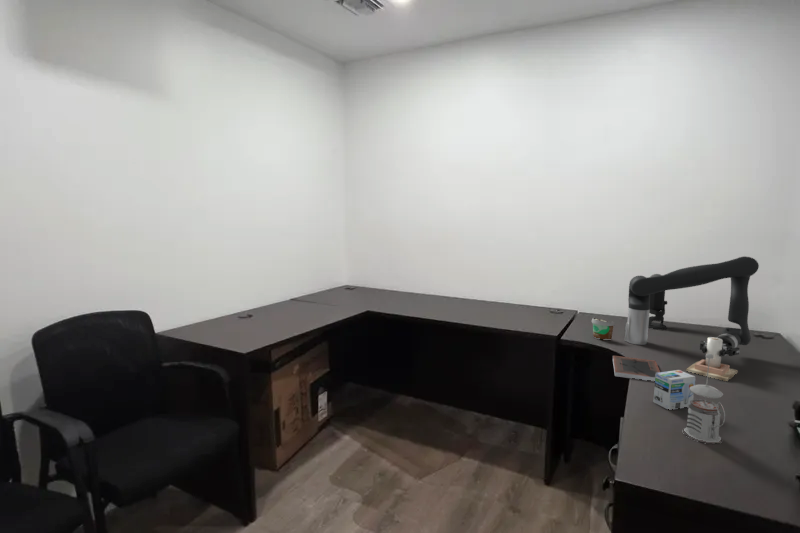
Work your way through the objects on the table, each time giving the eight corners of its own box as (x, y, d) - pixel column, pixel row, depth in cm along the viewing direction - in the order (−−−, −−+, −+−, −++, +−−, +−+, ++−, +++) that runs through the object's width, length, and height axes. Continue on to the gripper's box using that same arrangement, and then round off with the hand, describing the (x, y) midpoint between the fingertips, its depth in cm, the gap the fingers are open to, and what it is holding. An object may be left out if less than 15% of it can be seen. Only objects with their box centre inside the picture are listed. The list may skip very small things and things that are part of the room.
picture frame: (662, 384, 170) (655, 365, 189) (662, 377, 169) (655, 360, 189) (614, 377, 176) (612, 360, 196) (615, 371, 176) (613, 355, 195)
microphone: (661, 324, 254) (665, 272, 250) (671, 330, 242) (676, 276, 238) (637, 323, 256) (641, 272, 252) (647, 329, 244) (651, 275, 240)
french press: (706, 427, 135) (713, 348, 132) (736, 447, 124) (745, 361, 120) (674, 427, 135) (681, 348, 132) (701, 448, 123) (710, 362, 120)
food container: (585, 336, 231) (586, 317, 230) (593, 334, 233) (594, 316, 232) (605, 342, 220) (606, 323, 218) (613, 341, 222) (615, 321, 221)
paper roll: (703, 365, 180) (705, 338, 178) (707, 362, 183) (709, 336, 182) (718, 368, 176) (720, 341, 175) (722, 365, 179) (724, 339, 178)
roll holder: (686, 371, 181) (686, 363, 180) (697, 363, 190) (698, 356, 189) (727, 381, 170) (727, 373, 170) (737, 373, 179) (738, 365, 179)
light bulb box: (668, 410, 146) (671, 379, 145) (652, 402, 152) (654, 372, 151) (693, 406, 149) (696, 376, 148) (676, 398, 155) (679, 369, 154)
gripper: (705, 331, 193) (692, 339, 182) (746, 338, 182) (734, 347, 171) (704, 348, 194) (690, 356, 183) (744, 356, 183) (732, 366, 172)
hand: (712, 352), depth 177 cm, fingers closed on paper roll, 5 cm apart
